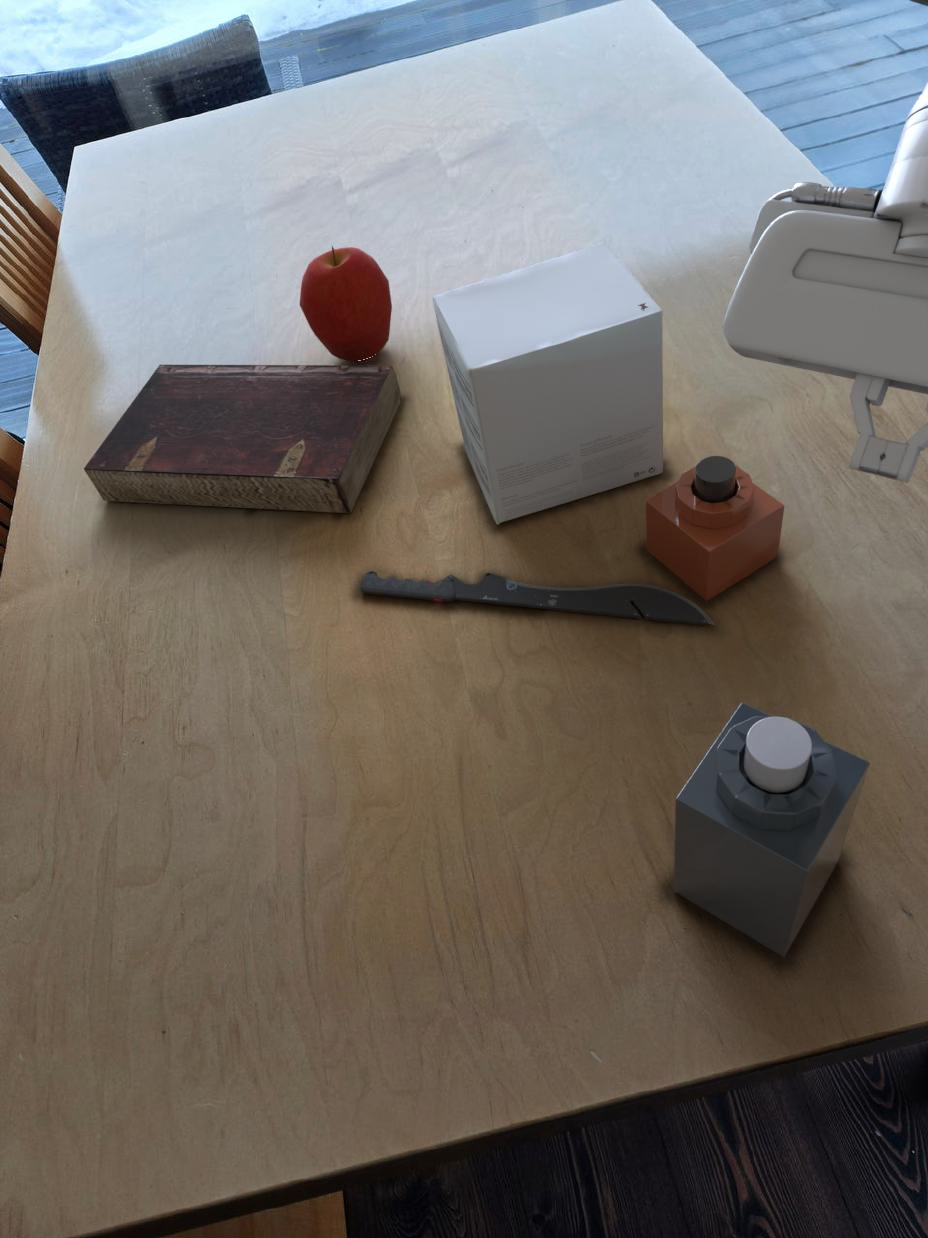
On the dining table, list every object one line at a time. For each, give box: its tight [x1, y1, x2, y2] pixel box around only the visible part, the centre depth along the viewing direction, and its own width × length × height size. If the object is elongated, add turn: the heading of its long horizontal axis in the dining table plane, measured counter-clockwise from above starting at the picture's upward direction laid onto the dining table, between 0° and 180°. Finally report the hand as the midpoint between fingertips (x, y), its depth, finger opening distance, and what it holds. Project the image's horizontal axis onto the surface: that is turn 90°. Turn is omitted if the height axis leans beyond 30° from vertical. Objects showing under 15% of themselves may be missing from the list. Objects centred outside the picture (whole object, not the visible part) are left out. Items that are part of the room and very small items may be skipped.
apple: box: [299, 245, 393, 364], centre depth 106 cm, size 10×10×14 cm
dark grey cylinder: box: [694, 455, 737, 503], centre depth 76 cm, size 3×3×2 cm
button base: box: [645, 464, 785, 602], centre depth 80 cm, size 8×8×8 cm
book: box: [83, 364, 402, 514], centre depth 101 cm, size 29×19×5 cm, turn 77°
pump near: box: [744, 716, 812, 793], centre depth 51 cm, size 3×3×3 cm
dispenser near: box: [673, 701, 871, 958], centre depth 58 cm, size 8×8×15 cm
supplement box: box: [432, 241, 664, 525], centre depth 87 cm, size 17×13×18 cm
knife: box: [359, 570, 716, 626], centre depth 82 cm, size 32×4×1 cm, turn 75°
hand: (878, 475), depth 49 cm, fingers closed
